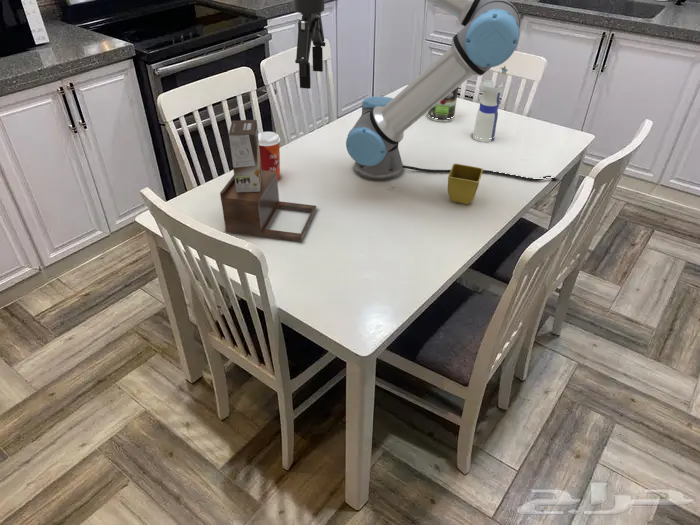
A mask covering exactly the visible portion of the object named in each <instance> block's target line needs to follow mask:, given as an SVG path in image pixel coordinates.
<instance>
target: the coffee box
mask: <svg viewBox="0 0 700 525" xmlns="http://www.w3.org/2000/svg"><path fill="white" fill-rule="evenodd" d="M230 124H231V125H230V128H229V132H228V139H229V147H230V154H231V161H232V170H233V175H234V177H235V185H236V192H237V193H239V192H259V191H260V187H261V180H262V170H261V160H260V150H259V140H258V134H259V131H258V122H257V119H240V120H232V121H231V123H230Z"/></svg>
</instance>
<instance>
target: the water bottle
mask: <svg viewBox="0 0 700 525" xmlns="http://www.w3.org/2000/svg"><path fill="white" fill-rule="evenodd" d="M500 69H501V73H500V74H501V75H504V76H507V72H508V71H509V69H508V68H507V67H506V65H504V66H503V67H500ZM478 89H479V90H480V91H482V94H481V98H479V108H478V110H477V113H476V118H475V123H474V129H473V131H472V138H473V139H474V140H475V141H477V142H480V143H481V142H482V143H491V142H493V141H494V140H495V137H496V129H497V124H498V117H499V106H500V104H501V100H500V96H501V94H503V93H504V83H503V82H501V83H500V84H499V86H498V87H494V81H493V80H492V79H486V80H483V81H482V82H481V83H480V84H479V86H478ZM473 134H474V135H473ZM475 136H476V137H475ZM494 136H495V137H494ZM477 137H478V138H477ZM493 137H494V138H493ZM480 138H482V139H480ZM489 138H492V139H489Z"/></svg>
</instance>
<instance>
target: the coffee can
mask: <svg viewBox="0 0 700 525" xmlns="http://www.w3.org/2000/svg"><path fill="white" fill-rule="evenodd" d="M459 87H460V86H458V87H457V88H456V89H455V90H454V91H452V92H451V93H450V94H449V95H448V96H446V97H445V98H444V99H443V100H441V101H440V102H439V103H438V104H437V105H435V106H434V107H433V108H432V109H430V110H429V111H428V112H427V117H428V119H430V120H431V121H434V122H440V123H446V122H451V121H453V120H455V113H456V107H457V100H458V93H459ZM428 114H429V115H430V116H429V115H428ZM453 116H454V117H453ZM432 117H434V118H432ZM451 117H453V118H451ZM435 118H438V119H435ZM447 118H450V119H447Z"/></svg>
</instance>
